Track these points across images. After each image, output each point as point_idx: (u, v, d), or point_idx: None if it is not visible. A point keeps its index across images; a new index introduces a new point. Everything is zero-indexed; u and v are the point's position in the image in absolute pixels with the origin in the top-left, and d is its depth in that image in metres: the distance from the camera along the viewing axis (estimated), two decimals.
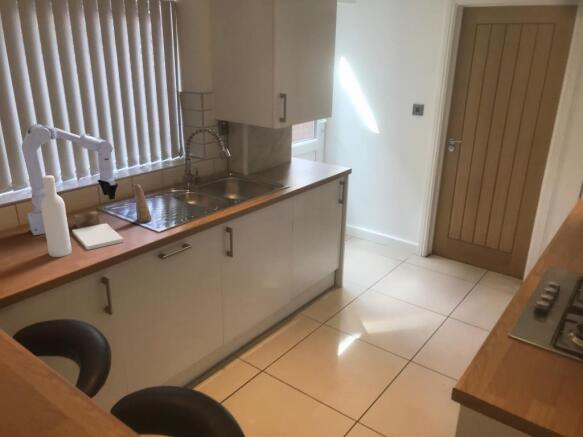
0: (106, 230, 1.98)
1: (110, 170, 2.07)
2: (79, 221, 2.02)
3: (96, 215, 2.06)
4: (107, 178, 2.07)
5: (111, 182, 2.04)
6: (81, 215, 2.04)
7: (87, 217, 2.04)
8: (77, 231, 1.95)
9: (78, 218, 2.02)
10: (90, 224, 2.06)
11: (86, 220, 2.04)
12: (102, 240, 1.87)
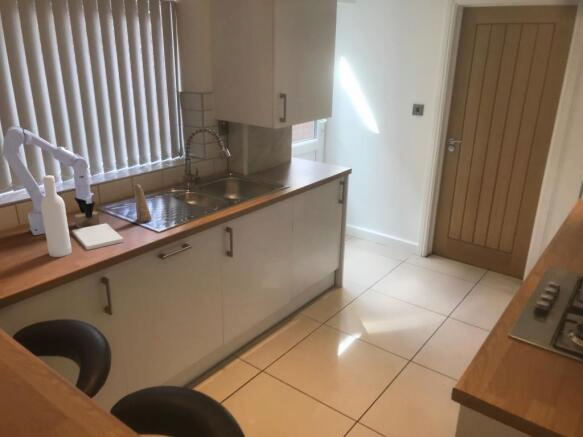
0: (106, 230, 1.98)
1: (87, 188, 2.00)
2: (79, 221, 2.02)
3: (96, 215, 2.06)
4: (84, 196, 2.00)
5: (87, 200, 1.97)
6: (81, 215, 2.04)
7: None
8: (77, 231, 1.95)
9: (78, 218, 2.02)
10: (90, 224, 2.06)
11: (86, 220, 2.04)
12: (102, 240, 1.87)
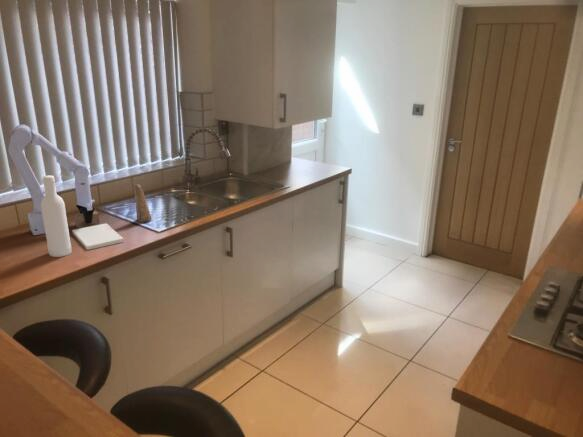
0: (106, 230, 1.98)
1: (88, 195, 2.01)
2: (79, 220, 2.02)
3: (96, 215, 2.06)
4: (84, 203, 2.01)
5: (88, 207, 1.98)
6: (81, 215, 2.04)
7: None
8: (77, 231, 1.95)
9: (78, 218, 2.02)
10: (90, 224, 2.06)
11: None
12: (102, 240, 1.87)
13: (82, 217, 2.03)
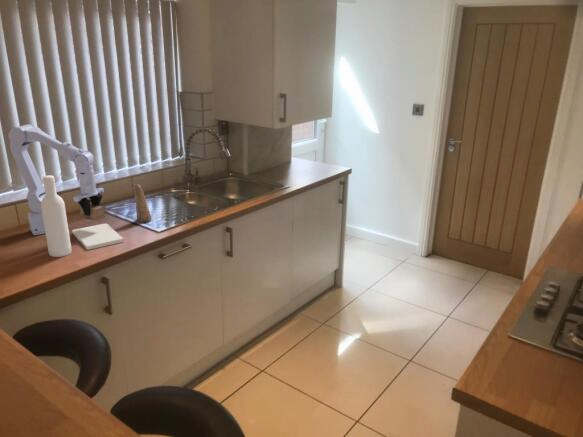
0: (106, 230, 1.98)
1: (84, 186, 1.89)
2: (81, 211, 1.95)
3: (95, 211, 1.92)
4: (82, 193, 1.90)
5: (74, 198, 1.87)
6: None
7: None
8: (77, 231, 1.95)
9: (80, 208, 1.94)
10: (90, 218, 1.94)
11: None
12: (102, 240, 1.87)
13: None
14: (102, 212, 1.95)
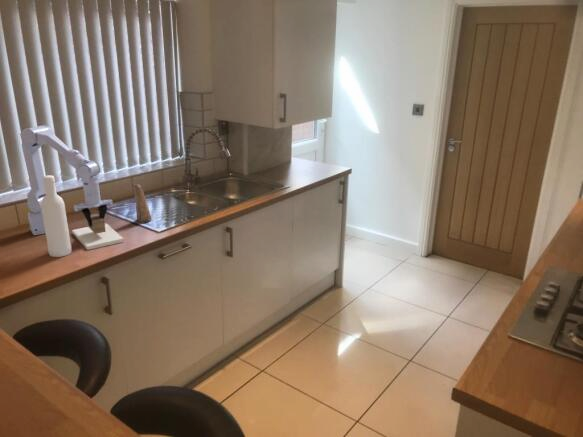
0: (106, 230, 1.98)
1: (86, 196, 1.85)
2: None
3: (93, 223, 1.87)
4: (85, 203, 1.87)
5: (74, 207, 1.85)
6: (92, 216, 1.92)
7: None
8: (77, 231, 1.95)
9: None
10: (92, 229, 1.90)
11: None
12: (102, 240, 1.87)
13: None
14: (102, 225, 1.88)
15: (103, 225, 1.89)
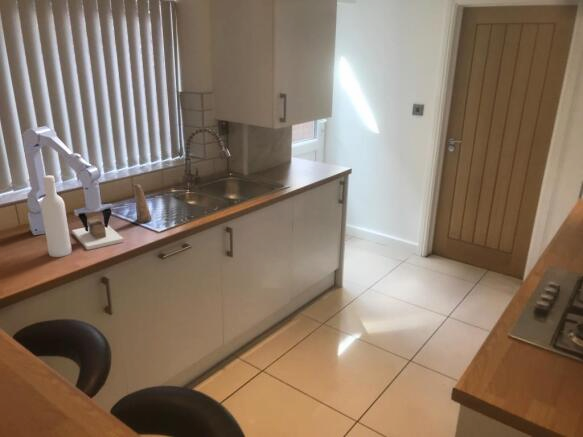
0: (106, 230, 1.98)
1: (86, 201, 1.86)
2: (88, 225, 1.93)
3: (93, 228, 1.88)
4: (86, 207, 1.88)
5: None
6: (93, 221, 1.92)
7: (91, 225, 1.90)
8: (77, 231, 1.95)
9: (88, 222, 1.93)
10: (92, 234, 1.91)
11: (91, 228, 1.91)
12: (102, 240, 1.87)
13: (89, 223, 1.92)
14: (102, 230, 1.89)
15: (104, 230, 1.89)
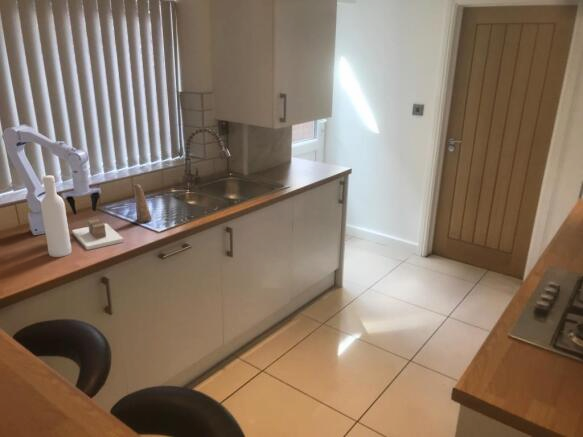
0: (106, 230, 1.98)
1: (74, 184, 1.88)
2: (88, 225, 1.93)
3: (93, 228, 1.88)
4: (73, 191, 1.90)
5: (62, 194, 1.88)
6: (93, 221, 1.92)
7: (91, 225, 1.90)
8: (77, 231, 1.95)
9: (88, 222, 1.93)
10: (92, 234, 1.91)
11: (91, 228, 1.91)
12: (102, 240, 1.87)
13: (89, 223, 1.92)
14: (102, 230, 1.89)
15: (104, 230, 1.89)
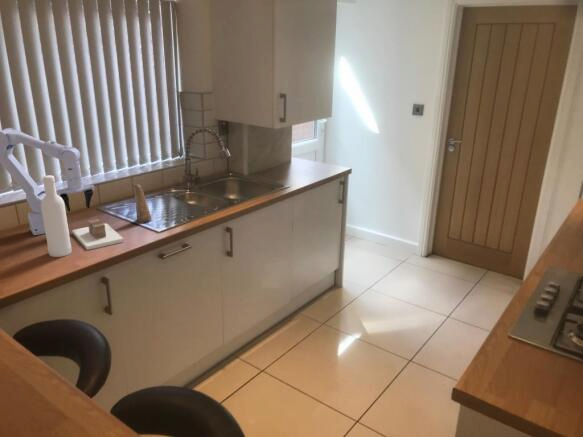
0: (106, 230, 1.98)
1: (68, 181, 1.91)
2: (88, 225, 1.93)
3: (93, 228, 1.88)
4: (67, 188, 1.93)
5: (56, 192, 1.91)
6: (93, 221, 1.92)
7: (91, 225, 1.90)
8: (77, 231, 1.95)
9: (88, 222, 1.93)
10: (92, 234, 1.91)
11: (91, 228, 1.91)
12: (102, 240, 1.87)
13: (89, 223, 1.92)
14: (102, 230, 1.89)
15: (104, 230, 1.89)
